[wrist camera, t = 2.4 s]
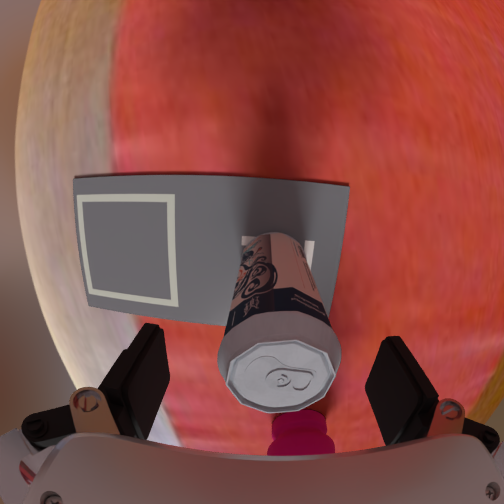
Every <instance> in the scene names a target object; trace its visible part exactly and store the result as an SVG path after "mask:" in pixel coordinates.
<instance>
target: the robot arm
mask: <svg viewBox="0 0 504 504" xmlns="http://www.w3.org/2000/svg"><path fill="white" fill-rule="evenodd" d="M169 381H170V372H169V366H168V359H167V353H166V345H165V338H164V331H163V329H161V328H160V327H159V325H157V324H150V323H145V324H144V325H143V327H142V328H141V330H140V331H139V333H138V334H137V335H136V337H135V338H134V340H133V341H132V343H131V344H130V346H129V347H128V349H125V350H123V351H122V353H121V354H120V356H119V357H118V359H117V360H116V362H115V363H114V365H113V366H112V368H111V369H110V371H109V372H108V374H107V375H106V377H105V378H104V380H103V381H102V383H101V384H100V386H99V387H98V389H96V388H94V387H83V388H80V389H78V390H76V391H75V392H74V393H73V394H72V395H71V397H70V400H69V405H66V406H62V407H58V408H55V409H51V410H47V411H43V412H38V413H34V414H31V415H29V416H28V417H26V418H25V419H24V421H23V423H22V426H21V427H22V428H21V429H20V430H17V428H15V429H13V430H11V431H10V432H8V433H6V434H4V435H2V436H0V496H1V498H2V500H3V501H4V503H5V504H504V442H503V441H502V443H501V444H500V443H499V442H500V438H499V435H498V433H497V432H496V431H495V430H494V429H493V428H491V427H489V426H485V425H483V424H480V423H478V422H475V421H473V420H470V419H467V418H465V410H464V407H463V406H462V405H461V404H460V403H459V402H458V401H456V400H454V399H450V398H448V399H443V400H441V401H440V402H439V400H438V396H439V395H438V393H437V392H436V390H435V389H434V387H433V385H432V384H431V382H430V381H429V379H428V378H427V376H426V374H425V373H424V371H423V370H422V368H421V367H420V365H419V364H418V362H417V361H416V359H415V358H414V356H413V355H412V353H411V352H410V350H409V349H408V347H407V346H406V345H405V343H404V342H403V340H402V339H401V337H400V336H388V337H386V338H385V340H383V341H382V342H381V345H380V348H379V351H378V354H377V356H376V359H375V362H374V364H373V367H372V369H371V372H370V374H369V377H368V379H367V382H366V384H365V391H366V393H367V396H368V399H369V401H370V404H371V407H372V409H373V412H374V415H375V417H376V420H377V423H378V426H379V428H380V431H381V434H382V437H383V440H384V442H385V445H386V446H383V447H377V448H371V449H365V450H358V451H351V452H342V453H332V454H320V455H302V456H260V455H241V454H229V453H219V452H210V451H203V450H196V449H190V448H184V447H178V446H172V445H167V444H162V443H157V442H152V441H148V440H146V439H147V438H148V436H149V433H150V430H151V428H152V425H153V423H154V420H155V417H156V415H157V412H158V410H159V407H160V404H161V402H162V399H163V397H164V394H165V392H166V389H167V387H168V384H169ZM143 439H144V440H143Z"/></svg>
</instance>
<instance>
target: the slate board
mask: <svg viewBox="0 0 504 504" xmlns="http://www.w3.org/2000/svg"><path fill="white" fill-rule="evenodd" d="M349 190H350V187H349V186H341V185H333V184H324V183H315V182H306V181H295V180H284V179H271V178H256V177H238V176H214V175H129V176H106V177H89V178H76V179H73V194H74V211H75V223H76V233H77V242H78V250H79V257H80V263H81V270H82V275H83V281H84V286H85V291H86V296H87V301H88V305H89V306H91V307H96V308H102V309H107V310H112V311H118V312H123V313H129V314H135V315H142V316H148V317H155V318H162V319H169V320H176V321H184V322H192V323H201V324H210V325H220V326H226V325H227V320H228V316H229V312H230V307H231V303H232V299H233V294H234V290H235V286H236V281H237V277H238V273H239V269H240V264H241V256H242V253H243V250H244V248H245V247H246V246H247V244H248V243H249V242H250V241H251V240H253V239H254V238H255V237H257V236H259V235H261V234H264V233H269V232H279V233H283V234H287V235H289V236H291V237H293V238H294V239H295V240H296V241H298V242H299V243H300V245H301V246H302V248H303V250H304V252H305V254H306V259H307V263H308V265H309V268H310V271H311V273H312V276H313V278H314V281H315V284H316V286H317V289H318V292H319V294H320V297H321V300H322V302H323V305H324V308H325V311H326V313H327V316H328V318H329V313H330V309H331V304H332V299H333V294H334V289H335V284H336V279H337V273H338V268H339V262H340V256H341V250H342V243H343V237H344V230H345V223H346V215H347V208H348V199H349Z"/></svg>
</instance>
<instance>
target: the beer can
mask: <svg viewBox="0 0 504 504" xmlns="http://www.w3.org/2000/svg"><path fill="white" fill-rule="evenodd" d="M217 362H218V367H219V371H220V373H221V375H222V376H223V378H224V380H225V382H226V386H227V387H228V388H229V390H230V391H231V392H232V393H233V395H234V396H235V397H236V399H237V400H238V401H239V402H240V404H243V405H245V406H248V407H251V408H254V409H257V410H260V411H262V412H265V413H280V412H292V411H299V410H301V409H303V408H305V407H307V406H309V405H311V404H313V403H314V402H316V401H318V400H320V399H322V398H323V397H325V395H326V393H327V391H328V389H329V388H330V386H331V384H332V382H333V380H334V378H335V376H336V373H337V371H338V368H339V365H340V362H341V345H340V343H339V341H338V338H337V336H336V334H335V333H334V331H333V330H332V327H331V324H330V322H329V319H328V316H327V313H326V311H325V308H324V305H323V302H322V300H321V297H320V294H319V292H318V289H317V286H316V284H315V281H314V278H313V276H312V273H311V271H310V268H309V265H308V263H307V259H306V254H305V252H304V250H303V248H302V246H301V245H300V243H299V242H298V241H296V240H295V239H294V238H293V237H291V236H289V235H287V234H283V233H279V232H269V233H264V234H261V235H259V236H257V237H255V238H254V239H253V240H251V241H250V242H249V243H248V244H247V246H246V247H245V248H244V250H243V253H242V256H241V264H240V269H239V273H238V277H237V281H236V286H235V290H234V294H233V299H232V303H231V307H230V312H229V316H228V320H227V325H226V329H225V333H224V337H223V340H222V342H221V345H220V348H219V351H218V361H217Z"/></svg>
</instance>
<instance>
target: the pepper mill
mask: <svg viewBox="0 0 504 504" xmlns="http://www.w3.org/2000/svg"><path fill="white" fill-rule="evenodd" d="M326 433H327V426H326V420H325V417H324V416H323V415H322V414H321V413H319V412H317V411H314V410H308V409H302V410H299V411H292V412H286V413H284V414H282V415H280V416H278V417H277V418H276V419H275V420H274V422H273V423H272V438H273V440H274V441H273V442H272V444H271V445H270V446H269V448H268V451H267V456H302V455H320V454H332V453H335V445H334V442H333V440H332V439H331V438H330V437H329V436H328V435H326Z"/></svg>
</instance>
